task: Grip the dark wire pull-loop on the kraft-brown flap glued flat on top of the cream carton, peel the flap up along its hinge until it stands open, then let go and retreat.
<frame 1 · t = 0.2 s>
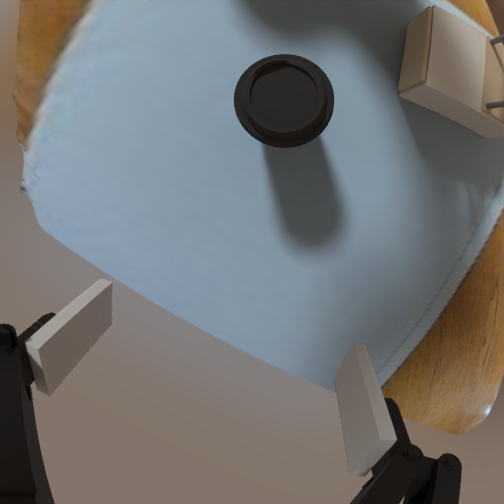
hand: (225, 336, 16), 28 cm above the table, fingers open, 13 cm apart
coffee cup: (283, 115, 38), on the table
carton: (451, 81, 33), on the table
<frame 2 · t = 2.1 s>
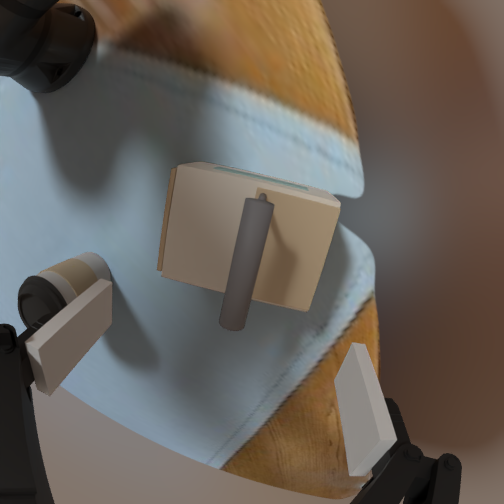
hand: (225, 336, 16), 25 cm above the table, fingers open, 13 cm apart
coffee cup: (93, 272, 44), on the table
carton: (253, 221, 39), on the table
flap: (283, 264, 27), point 13 cm above the table, hinge at 0.0°
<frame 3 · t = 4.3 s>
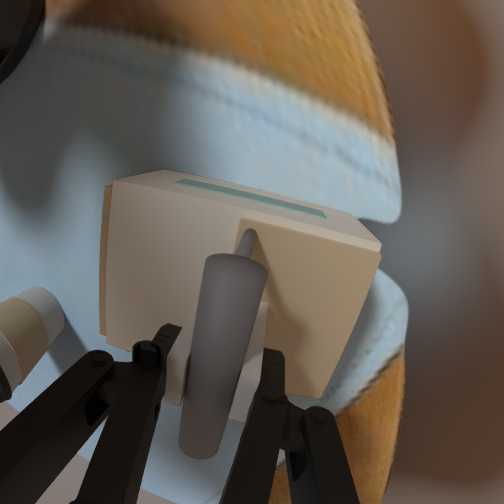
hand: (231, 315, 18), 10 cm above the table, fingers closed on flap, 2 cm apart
coffee cup: (45, 310, 32), on the table
carton: (241, 256, 27), on the table
flap: (283, 357, 15), point 13 cm above the table, hinge at 0.0°, touching gripper
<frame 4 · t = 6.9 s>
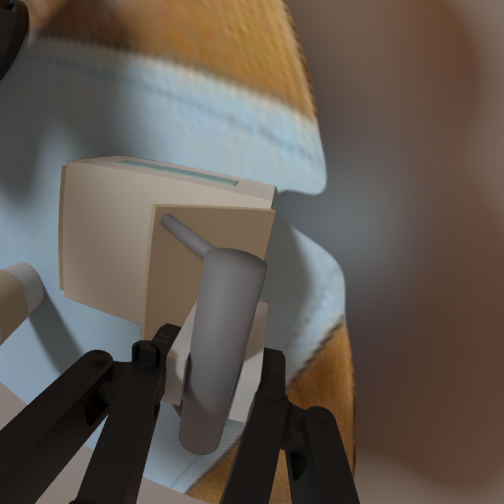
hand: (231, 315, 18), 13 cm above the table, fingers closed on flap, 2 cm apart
coffee cup: (28, 283, 36), on the table
carton: (182, 227, 30), on the table
flap: (234, 326, 16), point 15 cm above the table, hinge at 43.8°, touching gripper
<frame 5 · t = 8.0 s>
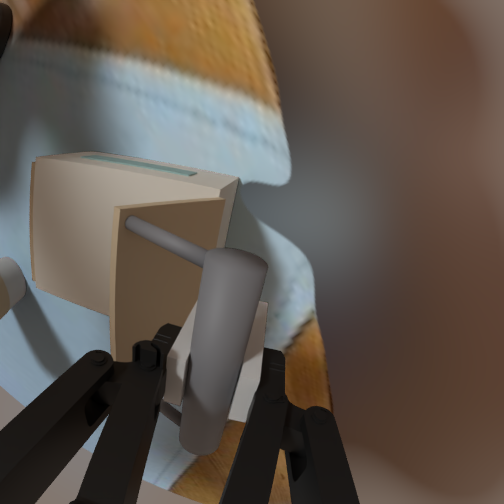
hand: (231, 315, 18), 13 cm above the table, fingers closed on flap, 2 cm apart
coffee cup: (12, 278, 35), on the table
carton: (149, 220, 30), on the table
flap: (209, 320, 16), point 14 cm above the table, hinge at 63.6°, touching gripper
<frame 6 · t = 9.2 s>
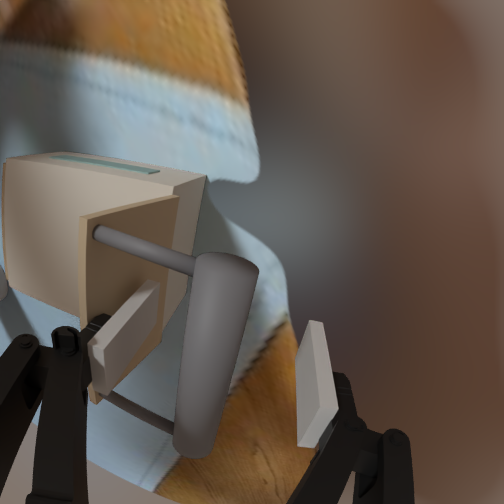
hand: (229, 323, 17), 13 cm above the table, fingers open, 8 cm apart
carton: (119, 219, 29), on the table
flap: (181, 323, 16), point 14 cm above the table, hinge at 79.0°, touching gripper
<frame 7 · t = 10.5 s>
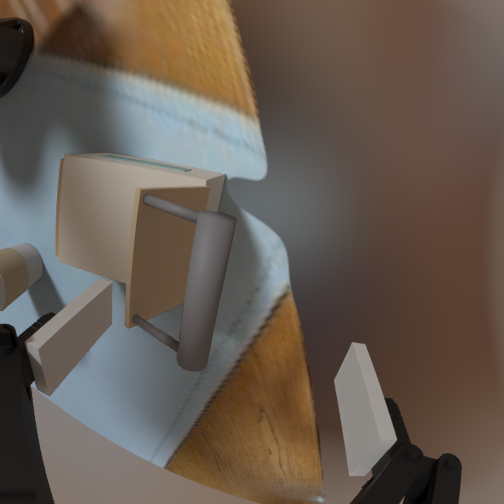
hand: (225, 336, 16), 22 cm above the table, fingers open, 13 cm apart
coffee cup: (30, 261, 42), on the table
carton: (153, 209, 37), on the table
flap: (199, 270, 23), point 14 cm above the table, hinge at 67.1°
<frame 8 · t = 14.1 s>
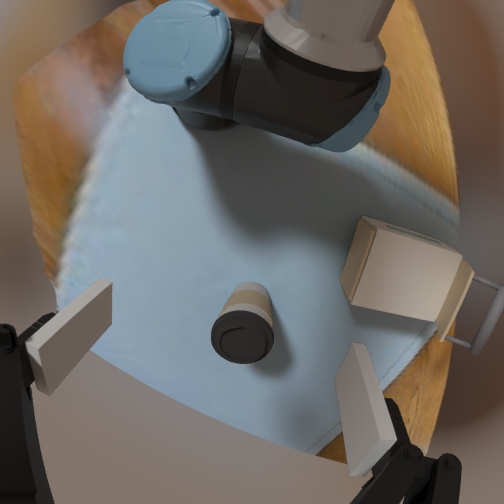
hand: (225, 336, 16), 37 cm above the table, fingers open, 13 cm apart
coffee cup: (250, 298, 56), on the table
carton: (392, 259, 51), on the table
flap: (472, 306, 37), point 14 cm above the table, hinge at 67.1°
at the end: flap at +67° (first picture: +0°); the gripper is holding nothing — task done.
